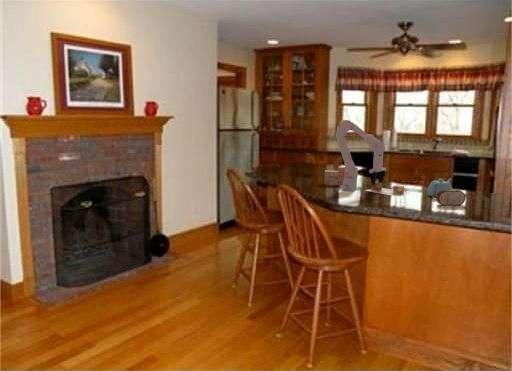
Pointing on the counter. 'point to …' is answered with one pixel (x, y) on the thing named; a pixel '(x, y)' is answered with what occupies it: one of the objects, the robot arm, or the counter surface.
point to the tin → (450, 197)
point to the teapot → (438, 187)
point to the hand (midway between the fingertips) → (377, 183)
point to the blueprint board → (386, 192)
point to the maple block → (398, 189)
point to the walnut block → (377, 186)
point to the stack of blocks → (335, 176)
